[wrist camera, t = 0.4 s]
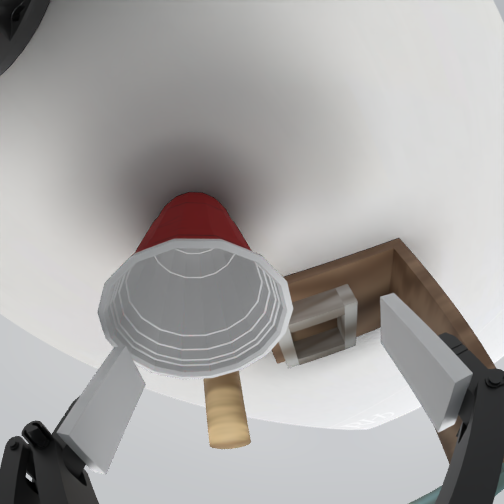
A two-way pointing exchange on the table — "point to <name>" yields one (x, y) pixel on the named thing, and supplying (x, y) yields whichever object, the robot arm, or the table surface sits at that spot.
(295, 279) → the awning stand
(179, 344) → the plastic cup
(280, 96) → the table surface
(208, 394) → the peg
